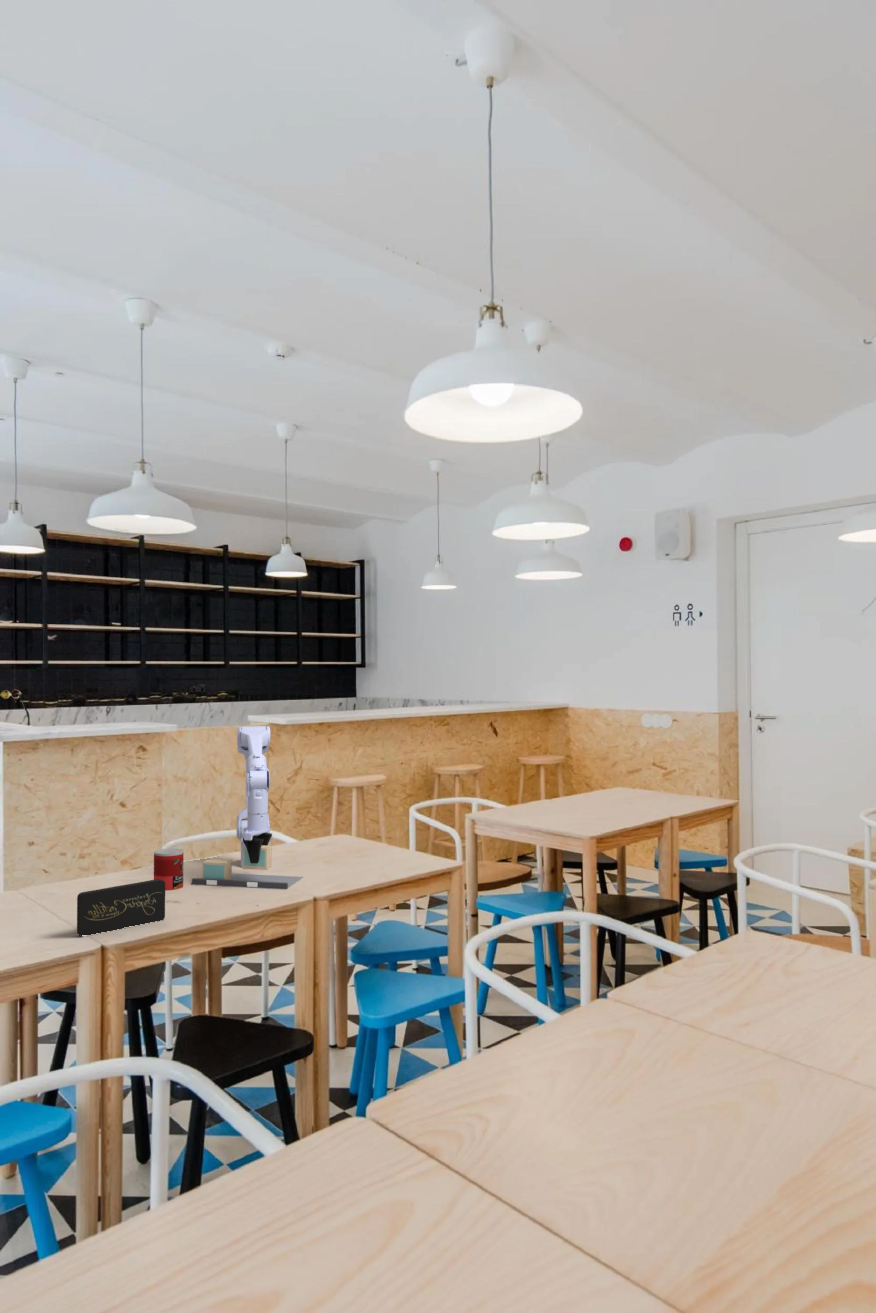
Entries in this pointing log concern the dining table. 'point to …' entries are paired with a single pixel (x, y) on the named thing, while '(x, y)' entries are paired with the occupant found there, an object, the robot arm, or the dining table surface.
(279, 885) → the shelf board
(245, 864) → the carton
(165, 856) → the canned food
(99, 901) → the nameplate
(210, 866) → the faced carton
